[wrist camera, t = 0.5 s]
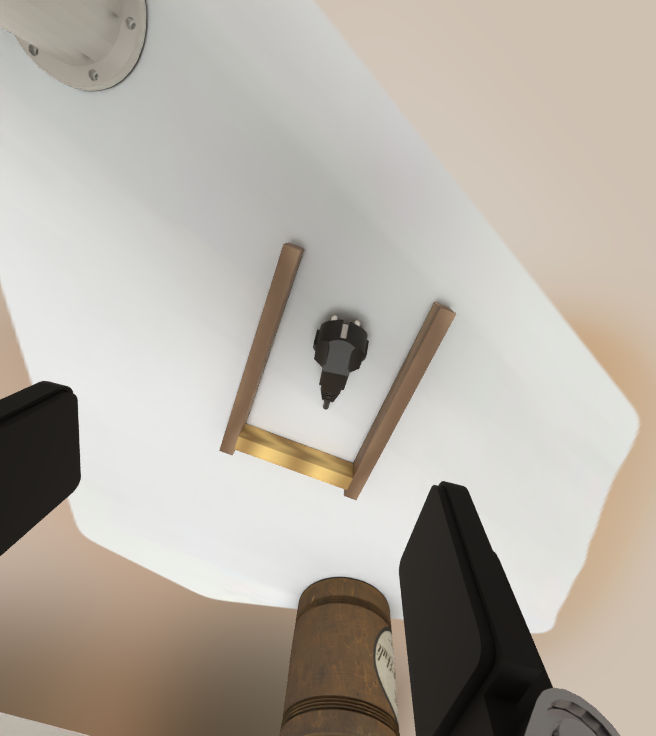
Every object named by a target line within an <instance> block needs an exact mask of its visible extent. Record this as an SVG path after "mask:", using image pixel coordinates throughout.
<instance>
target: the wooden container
mask: <svg viewBox="0 0 656 736" xmlns="http://www.w3.org/2000/svg"><path fill="white" fill-rule="evenodd" d="M280 736H400V734H399V720H398V706H397V693H396V676H395V663H394V651H393V641H392V631H391V621H390V611H389V606H388V603H387V601H386V599H385V598H384V596H383V595H382V594H381V593H380V592H379V591H378V590H377V589H375V588H374V587H372V586H370V585H368V584H366V583H364V582H361V581H358V580H354V579H349V578H331V579H326V580H322V581H319V582H317V583H315V584H313V585H311V586H310V587H308V588H307V589H306V590H305V591H304V592H303V594H302V596H301V598H300V600H299V605H298V611H297V617H296V625H295V630H294V637H293V644H292V650H291V657H290V665H289V674H288V682H287V689H286V697H285V705H284V713H283V720H282V725H281V731H280Z"/></svg>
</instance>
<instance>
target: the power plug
mask: <svg viewBox="0 0 656 736" xmlns="http://www.w3.org/2000/svg"><path fill="white" fill-rule="evenodd" d="M368 343H369V341H368V340H367V333H366V332H365V331H364V329H362V328H361V327H360V321H358V320H355V321H354V323H352V322H350V324H349V325H347V324H343V320H338V317H337V316H336V315H333V316H332V317H331V321H328V322H325V323H323V324H322V325H321V328H320V330H318V329H317V333H316V336H315V340H314V345H313V348H314V350H315V357H314V359H315V360H316V361H317V362H318V363H319V364H320V366H321V367H322V373H321V378H320V383H319V385H321V395H322V400H324V405H323V408H324V409H328V407H329V404H330V402H334V401H335V399H336V398H337V397H338V395H339V394H340V392H341V390H344V388H345V385H346V382H347V379H348V376H349V372H352V371H355V370H357V369H359V368H360V365H361V362H362V361H363V360H365V358H366V355H367V349H368Z"/></svg>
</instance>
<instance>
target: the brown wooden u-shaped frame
mask: <svg viewBox="0 0 656 736" xmlns="http://www.w3.org/2000/svg"><path fill="white" fill-rule="evenodd" d="M303 252H304V249H303V248H301V247H298V246H296V245H293V244H291V243H286V244H284V245H283V248H282V251H281V254H280V258H279V261H278V264H277V267H276V271H275V274H274V277H273V280H272V283H271V287H270V290H269V293H268V296H267V299H266V303H265V306H264V309H263V312H262V315H261V319H260V322H259V325H258V328H257V331H256V335H255V338H254V341H253V344H252V348H251V351H250V354H249V357H248V360H247V364H246V367H245V370H244V373H243V376H242V380H241V383H240V386H239V389H238V392H237V396H236V399H235V402H234V405H233V409H232V412H231V415H230V418H229V421H228V425H227V428H226V431H225V434H224V437H223V441H222V444H221V447H220V450H219V451H222V452H224V453H227V454H230V455H233V453H234V451H235V450H238V451H241V452H243V453H246V454H249V455H252V456H254V457H257V458H260V459H263V460H265V461H268V462H271V463H274V464H276V465H279V466H282V467H285V468H288V469H290V470H293V471H296V472H299V473H301V474H304V475H307V476H310V477H312V478H315V479H318V480H321V481H323V482H326V483H329V484H332V485H334V486H337V487H340V488H343V489H344V496H346V497H349V498H351V499H354V500H357V498H358V496H359V494H360V492H361V490H362V489H363V487H364V485H365V483H366V481H367V479H368V477H369V476H370V474H371V472H372V470H373V468H374V466H375V464H376V463H377V461H378V459H379V457H380V455H381V453H382V451H383V449H384V448H385V446H386V444H387V442H388V440H389V438H390V436H391V435H392V433H393V431H394V429H395V427H396V425H397V423H398V422H399V420H400V418H401V416H402V414H403V412H404V410H405V408H406V407H407V405H408V403H409V401H410V399H411V397H412V395H413V394H414V392H415V390H416V388H417V386H418V384H419V382H420V381H421V379H422V377H423V375H424V373H425V371H426V369H427V367H428V366H429V364H430V362H431V360H432V358H433V356H434V354H435V353H436V351H437V349H438V347H439V345H440V343H441V341H442V340H443V338H444V336H445V334H446V332H447V330H448V328H449V326H450V325H451V323H452V321H453V319H454V317H455V315H456V313H455V312H453V311H452V310H451V309H450V308H448V307H446V306H443V305H441V304H439V303H436V302H434V304H433V306H432V308H431V310H430V312H429V314H428V316H427V318H426V320H425V322H424V324H423V326H422V328H421V330H420V332H419V334H418V336H417V338H416V340H415V342H414V344H413V346H412V348H411V350H410V352H409V354H408V356H407V358H406V360H405V362H404V364H403V366H402V368H401V370H400V372H399V374H398V376H397V378H396V380H395V381H394V383H393V385H392V387H391V389H390V391H389V393H388V395H387V397H386V399H385V401H384V403H383V405H382V407H381V409H380V411H379V413H378V415H377V417H376V419H375V421H374V423H373V425H372V427H371V429H370V431H369V433H368V435H367V437H366V439H365V441H364V443H363V445H362V447H361V449H360V451H359V453H358V455H357V457H356V459H355V461H354V463H351V462H348V461H345V460H343V459H340V458H337V457H335V456H332V455H329V454H326V453H324V452H321V451H318V450H316V449H313V448H310V447H307V446H305V445H302V444H299V443H297V442H294V441H291V440H288V439H286V438H283V437H280V436H278V435H275V434H272V433H270V432H267V431H264V430H261V429H259V428H256V427H253V426H251V425H248V424H246V422H247V419H248V416H249V413H250V410H251V407H252V404H253V401H254V398H255V395H256V392H257V389H258V386H259V383H260V380H261V377H262V374H263V371H264V368H265V365H266V362H267V359H268V356H269V353H270V351H271V348H272V345H273V342H274V339H275V336H276V333H277V330H278V327H279V324H280V321H281V318H282V315H283V312H284V309H285V306H286V303H287V300H288V297H289V294H290V291H291V288H292V285H293V282H294V279H295V276H296V273H297V270H298V267H299V264H300V261H301V258H302V255H303Z"/></svg>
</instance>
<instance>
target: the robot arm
mask: <svg viewBox="0 0 656 736" xmlns="http://www.w3.org/2000/svg"><path fill="white" fill-rule="evenodd" d="M0 27H2V28H4V29H5V30H7V31H9V32H11V33H13V34H14V36H15V38H16V39H17V41H18V42H19V44H20V45H21V47H22V48H23V50H24V51H25V52H26V54H27V55H28V56H29V57H30V58H31V59H32V60H33V61H34V62H35V64H36V65H37V66H38V67H40V68H41V69H42V70H43V71H45V72H46V73H47V74H48V75H50V76H51V77H53V78H55V79H57V80H59V81H60V82H62V83H64V84H67V85H69V86H71V87H74V88H76V89H82V90H87V91H94V90H103V89H106V88H109V87H112V86H114V85H115V84H117V83H118V82H120V81H122V80H123V79H124V78H125V77H126V76H127V74H128V73H129V72H130V71H131V70H132V68H133V67H134V65H135V63H136V62H137V60H138V58H139V55H140V52H141V49H142V47H143V43H144V37H145V31H146V5H145V0H0ZM134 28H135V29H134ZM80 479H81V470H80V447H79V423H78V400H77V397H76V395H75V394H73V391H72V389H71V388H70V387H68V386H64V385H60V384H56V383H52V382H48V381H42V382H38V383H36V384H34V385H32V386H30V387H28V388H25V389H23V390H21V391H18V392H16V393H14V394H12V395H10V396H8V397H5V398H3V399H1V400H0V556H1V555H2V554H3V553H4V552H6V551H7V550H8V549H9V548H10V547H11V546H12V545H13V544H15V543H16V542H17V541H18V540H19V539H20V538H21V537H23V536H24V535H25V534H26V533H27V532H28V531H29V530H31V529H32V528H33V527H34V526H35V525H36V524H37V523H38V522H40V521H41V520H42V519H43V518H44V517H45V516H46V515H48V514H49V513H50V512H51V511H52V510H53V509H54V508H55V507H57V506H58V505H59V504H60V503H61V502H62V501H63V500H65V499H66V498H67V497H68V496H69V495H70V494H71V493H73V492H74V490H75V489H76V488H77V486H78V485H79V482H80ZM399 579H400V588H401V598H402V607H403V617H404V626H405V635H406V644H407V655H408V664H409V674H410V683H411V693H412V702H413V711H414V721H415V731H416V736H620V735H619V733H618V732H617V731H616V729H615V728H614V727H613V725H612V724H611V723H610V722H609V721H608V720H607V719H606V718H605V717H604V716H603V715H602V714H601V713H600V712H599V711H598V710H597V709H596V708H595V707H593V706H592V705H590V704H589V703H588V702H587V701H585V700H584V699H582V698H581V697H580V696H578V695H576V694H573V693H571V692H569V691H567V690H565V689H558V688H553V687H552V684H551V682H550V679H549V677H548V675H547V672H546V670H545V667H544V665H543V663H542V660H541V658H540V656H539V653H538V651H537V648H536V646H535V644H534V641H533V639H532V636H531V634H530V632H529V629H528V627H527V625H526V622H525V620H524V617H523V615H522V613H521V610H520V608H519V605H518V603H517V601H516V598H515V596H514V594H513V591H512V589H511V586H510V584H509V582H508V579H507V577H506V574H505V572H504V570H503V567H502V565H501V563H500V560H499V558H498V557H497V555H496V553H495V552H494V551H493V550H492V547H491V545H490V543H489V540H488V538H487V535H486V533H485V530H484V528H483V526H482V523H481V521H480V518H479V516H478V513H477V511H476V509H475V506H474V504H473V501H472V499H471V496H470V494H469V492H468V490H467V488H466V487H464V486H461V485H457V484H453V483H449V482H445V481H442V482H441V483H440V484H439V486H437V485H433V486H432V487H431V489H430V492H429V494H428V496H427V499H426V501H425V503H424V506H423V508H422V511H421V513H420V515H419V518H418V520H417V522H416V525H415V527H414V529H413V532H412V534H411V536H410V539H409V541H408V543H407V546H406V548H405V551H404V553H403V555H402V558H401V561H400V566H399ZM0 736H89V735H85V734H81V733H78V732H74V731H70V730H66V729H62V728H58V727H55V726H50V725H47V724H43V723H39V722H35V721H31V720H27V719H23V718H20V717H16V716H12V715H8V714H4V713H0Z"/></svg>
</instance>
